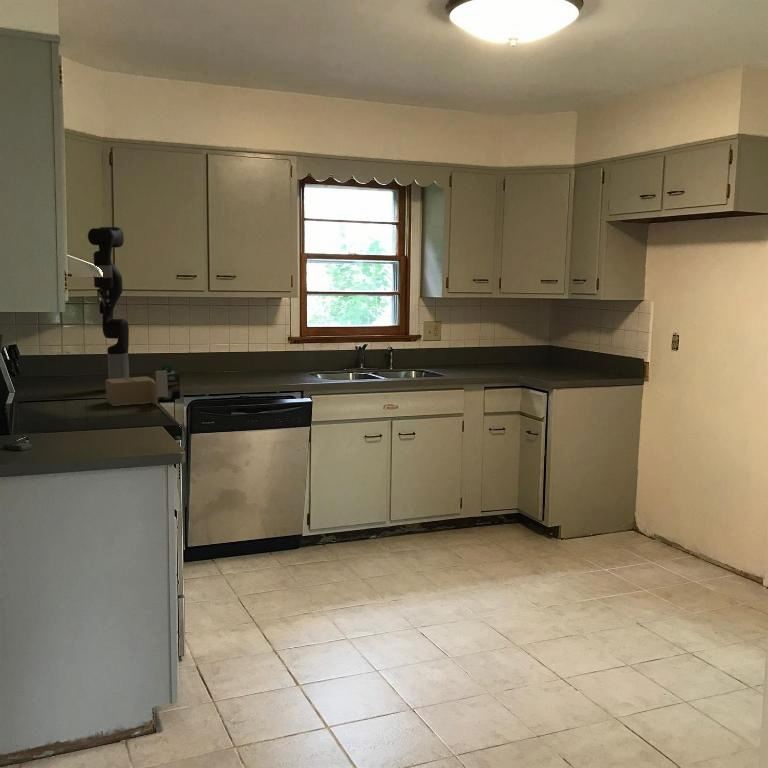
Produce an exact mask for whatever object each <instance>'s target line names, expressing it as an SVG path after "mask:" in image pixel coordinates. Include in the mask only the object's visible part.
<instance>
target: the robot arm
mask: <svg viewBox="0 0 768 768" xmlns="http://www.w3.org/2000/svg"><path fill="white" fill-rule="evenodd" d="M87 239H88V242H89V244H91V245H93V246H98V251H94V252H93V266H94V265H95V266H97V267H99V268H100V269H101V270H102V272H103V277H95V276H94V275H93V287H94V288H96V289H97V288H98V289H97V290H96V291H97V292H96V295H97V296H96V297H97V301H96V302H97V304H98V306H99V314H100V315H102V325H101V326H102V332H103V333H102V334H103V336H104V337H105V338H106V339H112V340H113V339H114V340H115V339H116V340H117V343H115V344H113V345H110V346H108V347H107V348H106V351H107V367H108V369H107V370H108V372H107V373H108V379H119V378H127V377H130V363H129V343H130V342H129V341H130V339H129V338H130V336H129V335H130V333H129V332H130V329H129V328H130V327H129V326H130V325H129V323H128V321H127V320H126V319H124V318H114V310H115V307H116V304H117V302H118V300H119V299H120V298H121V295H122V293H123V277H122V274H121V272H120V271H119V269H118V267H117V266H116V265H115V264H114V262H113V261H112V252H113V248H121V247H123V245H124V243H125V242H124V241H125V240H124V232H123V230H122V228H120V227H118V226H117V227H116V226H115V227H114V226H101V227H100V226H99V227H98V228H97V227H95V228H94V227H93V228H91V229H89V231H88V233H87Z"/></svg>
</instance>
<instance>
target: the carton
mask: <svg viewBox="0 0 768 768" xmlns="http://www.w3.org/2000/svg"><path fill="white" fill-rule="evenodd" d="M151 381H154V382H155V380H153V378H151V377H149V376H135V377H130V376H129V377H127V378H119V379H109V378H108V379H107V378H106V379H105V399H106V400H105V401H107V402H110V403H112V404H124V403H141V402H148V401H151ZM107 402H106V403H107Z"/></svg>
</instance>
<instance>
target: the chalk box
mask: <svg viewBox="0 0 768 768" xmlns="http://www.w3.org/2000/svg"><path fill="white" fill-rule="evenodd" d="M165 369H167V370H165ZM161 371H167V381H168V397H158V400H160V401H165V400H173V399H174V400H175V399H176V400H177V399H180V398H181V389H180V388H181V385H180V384H181V383H180V378H181V377H180V373H179V372H176V371H174V370H172V365H171V364H169V365H162V366H161ZM152 379H153V380H155V383H156V371H155V372H153V373H152Z"/></svg>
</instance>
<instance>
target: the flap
mask: <svg viewBox="0 0 768 768" xmlns="http://www.w3.org/2000/svg"><path fill="white" fill-rule="evenodd" d="M167 371H168V370H165V371H162V370H156V371H155V372H156V383H155V382H154V381H151V401H152V402H155V403H158V404H159V399H158V397H168V381H167Z"/></svg>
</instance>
